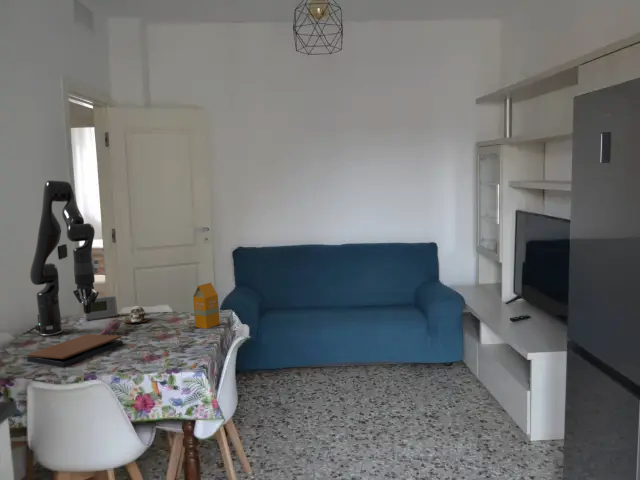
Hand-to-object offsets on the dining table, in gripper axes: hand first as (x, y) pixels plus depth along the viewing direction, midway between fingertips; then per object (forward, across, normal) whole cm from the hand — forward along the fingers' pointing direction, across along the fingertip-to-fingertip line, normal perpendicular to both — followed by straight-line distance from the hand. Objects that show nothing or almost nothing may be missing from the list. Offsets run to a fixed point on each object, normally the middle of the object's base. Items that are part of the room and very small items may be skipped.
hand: (87, 313), depth 236 cm
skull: (+17, +17, -43) cm, 49 cm away
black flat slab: (+16, +4, +4) cm, 17 cm away
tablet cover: (+14, +4, +4) cm, 15 cm away
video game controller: (+17, +11, -21) cm, 29 cm away
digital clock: (+17, +42, -43) cm, 62 cm away
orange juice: (+16, -23, -49) cm, 56 cm away
